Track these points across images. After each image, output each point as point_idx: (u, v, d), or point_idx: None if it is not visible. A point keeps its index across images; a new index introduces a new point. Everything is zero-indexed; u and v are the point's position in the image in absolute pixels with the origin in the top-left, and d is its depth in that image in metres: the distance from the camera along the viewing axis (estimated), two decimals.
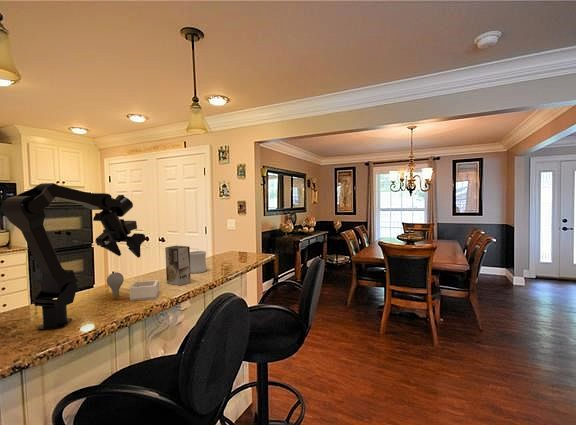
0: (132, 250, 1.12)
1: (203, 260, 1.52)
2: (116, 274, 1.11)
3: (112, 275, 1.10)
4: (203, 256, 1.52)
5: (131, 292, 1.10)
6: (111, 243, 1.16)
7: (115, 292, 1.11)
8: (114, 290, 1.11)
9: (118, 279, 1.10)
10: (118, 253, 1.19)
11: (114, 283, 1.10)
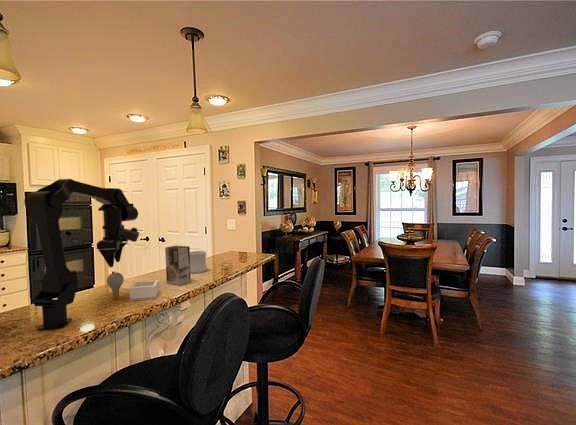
0: None
1: (203, 260, 1.52)
2: (116, 274, 1.11)
3: (112, 275, 1.10)
4: (203, 256, 1.52)
5: (131, 292, 1.10)
6: None
7: (115, 292, 1.11)
8: (114, 290, 1.11)
9: (118, 279, 1.10)
10: (116, 258, 1.16)
11: (114, 283, 1.10)
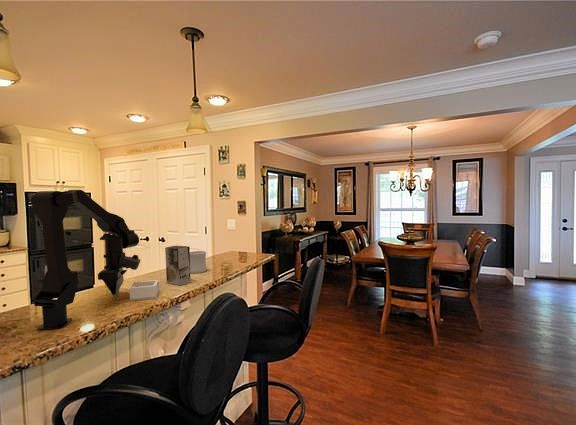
0: None
1: (203, 260, 1.52)
2: None
3: None
4: (203, 256, 1.52)
5: (131, 292, 1.10)
6: None
7: None
8: None
9: (118, 279, 1.10)
10: None
11: None
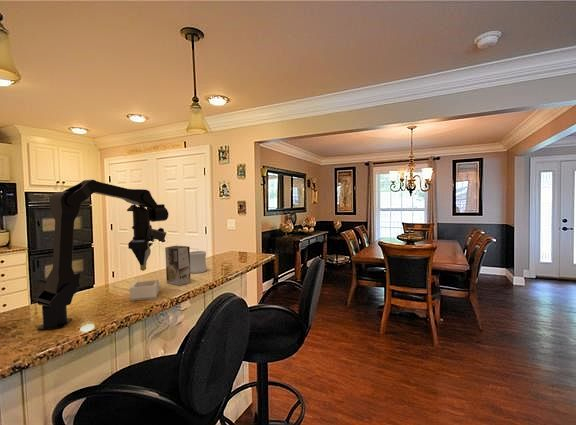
0: None
1: (203, 260, 1.52)
2: None
3: None
4: (203, 256, 1.52)
5: (131, 292, 1.10)
6: None
7: None
8: None
9: None
10: None
11: None
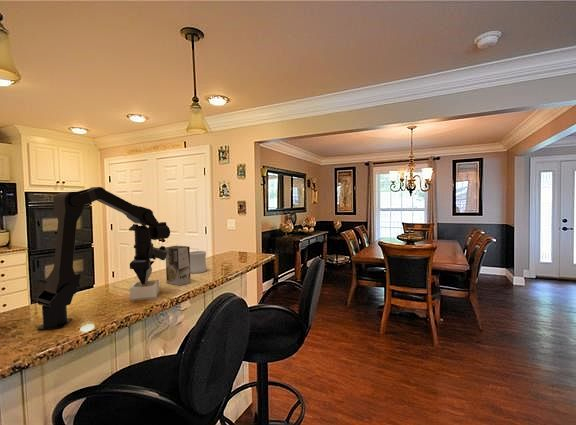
0: None
1: (203, 260, 1.52)
2: None
3: None
4: (203, 256, 1.52)
5: (131, 292, 1.10)
6: None
7: None
8: None
9: None
10: None
11: None
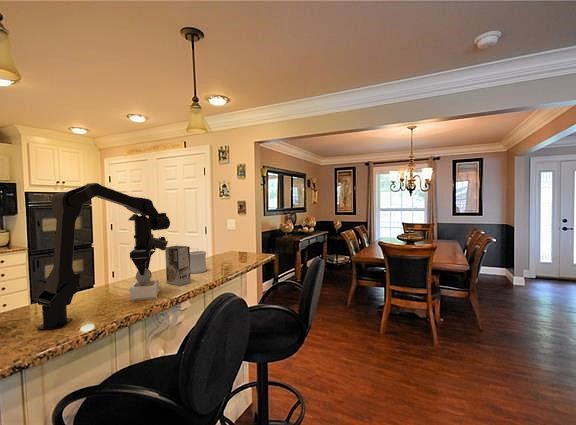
0: None
1: (203, 260, 1.52)
2: (145, 270, 1.13)
3: None
4: (203, 256, 1.52)
5: (131, 292, 1.10)
6: None
7: None
8: (143, 285, 1.13)
9: (146, 274, 1.13)
10: (145, 266, 1.19)
11: (143, 278, 1.12)
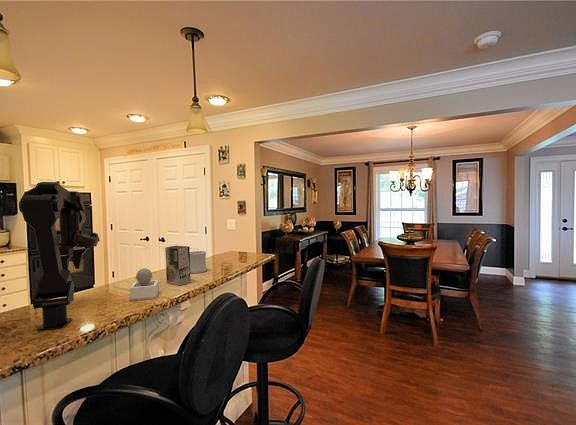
0: None
1: (203, 260, 1.52)
2: (145, 270, 1.13)
3: (141, 271, 1.13)
4: (203, 256, 1.52)
5: (131, 292, 1.10)
6: (76, 251, 1.10)
7: None
8: None
9: (147, 275, 1.13)
10: (75, 265, 1.10)
11: (143, 279, 1.12)
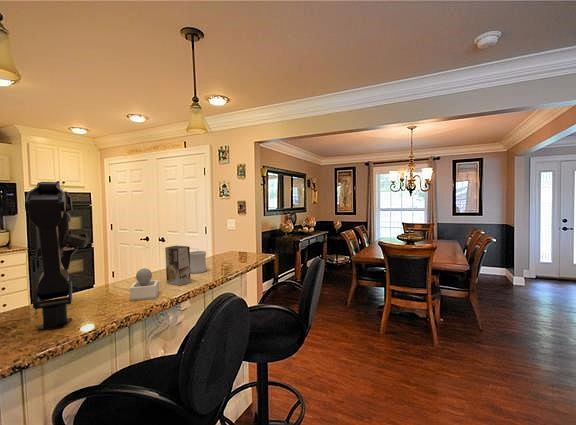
0: None
1: (203, 260, 1.52)
2: (145, 270, 1.13)
3: (141, 271, 1.13)
4: (203, 256, 1.52)
5: (131, 292, 1.10)
6: (65, 251, 1.09)
7: None
8: None
9: (147, 275, 1.13)
10: (64, 266, 1.08)
11: (143, 278, 1.12)
